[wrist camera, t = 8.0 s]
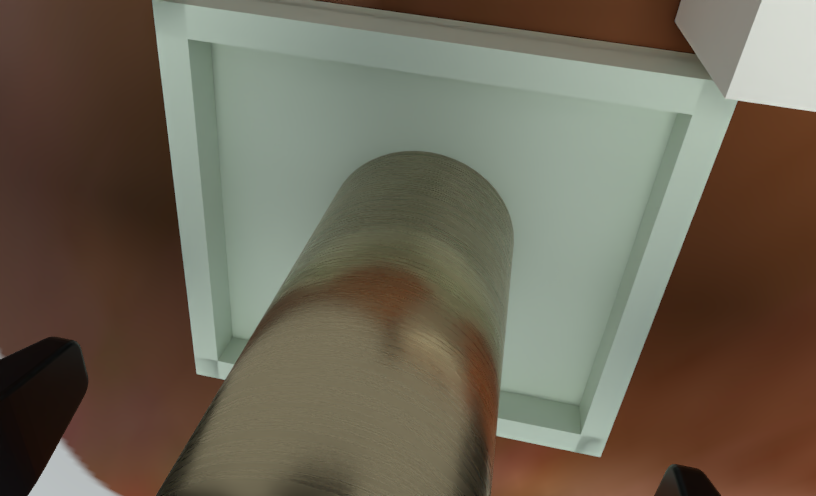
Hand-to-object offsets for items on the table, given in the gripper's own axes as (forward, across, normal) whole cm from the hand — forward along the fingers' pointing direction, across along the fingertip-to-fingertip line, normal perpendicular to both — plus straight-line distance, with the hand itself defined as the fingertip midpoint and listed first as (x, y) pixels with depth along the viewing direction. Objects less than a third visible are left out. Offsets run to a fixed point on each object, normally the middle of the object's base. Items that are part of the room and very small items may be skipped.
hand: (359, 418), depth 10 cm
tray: (+6, 0, 0) cm, 6 cm away
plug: (+5, 0, 0) cm, 5 cm away
